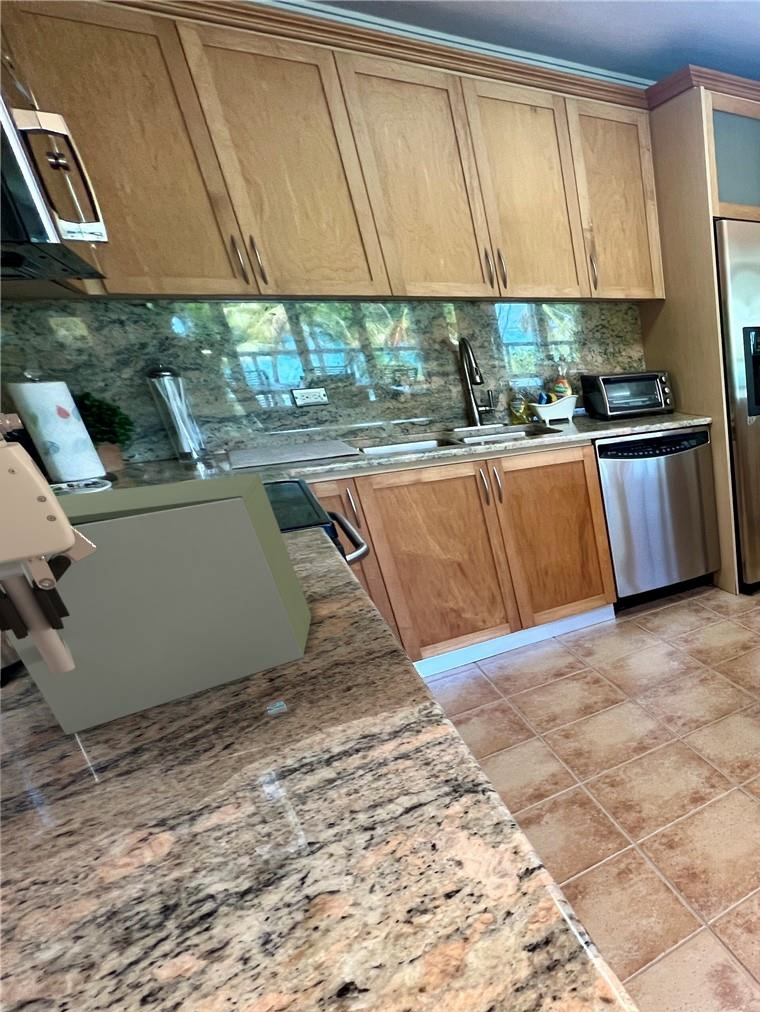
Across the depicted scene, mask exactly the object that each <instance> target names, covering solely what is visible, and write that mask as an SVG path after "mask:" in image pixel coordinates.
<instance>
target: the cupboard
mask: <svg viewBox="0 0 760 1012" xmlns="http://www.w3.org/2000/svg"><path fill="white" fill-rule="evenodd" d="M206 479H207V480H198V481H189V482H182V481H179V482H180V483H178V482H171V483H164V484H163V483H162V484H154V485H145V486H136V487H125V488H117V489H108V490H107V489H106V490H100V491H99V490H98V491H92V492H91V491H90V492H81V493H71V494H63V495H55V496H56V498H57V500H58V501H59V503H60V505H61V507H62V508H63V510H64V512H65V514H66V516H67V518H68V520H69V522H70V524H71V525H72V526H77V525H83V524H88V523H94V522H100V521H106V520H112V519H118V518H124V517H130V516H135V515H141V514H147V513H153V512H159V511H165V510H171V509H176V508H182V507H188V506H194V505H200V504H206V503H212V502H218V501H223V500H229V499H235V498H242V499H243V502H244V504H245V507H246V509H247V512H248V514H249V517H250V520H251V522H252V525H253V527H254V530H255V533H256V535H257V538H258V540H259V543H260V546H261V548H262V551H263V553H264V556H265V558H266V561H267V564H268V566H269V569H270V571H271V574H272V577H273V579H274V582H275V584H276V587H277V590H278V592H279V595H280V597H281V600H282V602H283V605H284V608H285V610H286V613H287V615H288V618H289V621H290V623H291V626H292V628H293V631H294V634H295V636H296V639H297V641H298V644H299V646H300V649H301V652H302V654H303V656H304V654H305V650H306V646H307V645H306V644H307V640H308V636H309V631H310V625H311V621H312V613H311V610H310V608H309V605H308V603H307V599H306V597H305V594H304V591H303V589H302V586H301V583H300V581H299V578H298V574H297V572H296V570H295V567H294V564H293V562H292V558H291V556H290V553H289V551H288V548H287V546H286V542H285V539H284V537H283V535H282V532H281V529H280V527H279V524H278V521H277V519H276V516H275V513H274V510H273V507H272V505H271V502H270V500H269V497H268V494H267V491H266V489H265V486H264V483H263V481H262V477H261V475H260V473H251V474H243V475H235V476H234V475H233V476H226V477H225V476H224V477H218V478H206Z"/></svg>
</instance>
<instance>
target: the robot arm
mask: <svg viewBox="0 0 760 1012" xmlns="http://www.w3.org/2000/svg"><path fill="white" fill-rule="evenodd" d="M21 429H25V427H24V426H23V424H22V421H21V419H20V417H19V415H18V414H17V413H8V414H7V413H5V414H4V412H0V564H1V563H6V562H12V561H17V560H23V559H24V560H25V562H26V564H27V566H28V568H29V570H30V572H31V574H32V576H33V578H34V579H33V581H32V585H33V588H32V590H33V594H34V596H35V598H36V600H37V602H38V603H39V605H40V607H41V609H42V611H43V613H44V614H45V616H46V618H47V620H48V622H49V623H50V625H51V627H52V629H53V630H54V629H56V630H60V629H64V625H63V622H62V620H61V618H63V617H67V616H70V614H69V612H68V610H67V608H66V606H65V604H64V603H63V601H62V599H61V597H60V595H59V593H58V591H57V589H56V587H55V586H56V584H57V582H58V581H59V579H60V578H61V577H62V575H63V574H64V573H65V572H66V570H67V569H68V568H69V567H70V565H72V564H74V563H76V562H78V561H80V560H82V559H84V558H86V557H88V556H90V555H92V554H94V553H95V552H96V551H97V548H96V546H95V545H94V544H93V543H92V542H91V541H90V540H89V539H87V538H86V537H85V536H84V535H83V534H81V533H80V532H79V531H78V530H77V529H75V528H74V527H73V526H72V525H71V524H70V522H69V520H68V518H67V516H66V514H65V512H64V510H63V508H62V507H61V505H60V503H59V501H58V500H57V498H56V496H57V495H56V494H55V492H54V491H53V489H52V488H51V485H50V484H49V482H48V480H47V479H46V477H45V476H44V474H43V473H42V471H41V469H40V468H39V466H38V465H37V463H36V461H34V460H33V458H32V457H31V456H30V454H29V452H27V450H26V449H25V448H24V447H23V446H22V445H21V443H19V442H17V441H13V442H12V441H9V442H7V441H6V439H5V437H4V435H7V434H8V433H7V432H9V433H10V432H13V430H21ZM57 552H59V553H57ZM53 553H56V554H54V555H53V556H52V557H51V558H50V559H49V560H48V562H47V560H46V558H45V555H49V554H53ZM11 629H12V631H13V633H14V634H15V636H16V638H17V639H18V640H19V639H23V638H26V636H28V630H27V629H26V627H25V625H24V623H23V622H22V620H21V618H20V616H19V615H18V613H17V611H16V609H15V608H14V606H13V604H12V602H11V601H10V599H9V597H8V595H7V594H6V593H4V592H3V591H2V590H1V589H0V632H2V633H3V632H5V631H7V630H11Z"/></svg>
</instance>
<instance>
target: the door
mask: <svg viewBox="0 0 760 1012" xmlns="http://www.w3.org/2000/svg"><path fill="white" fill-rule="evenodd" d="M73 527H74V528H75V529H77V530H78V531H79V532H80V533H81V534H83V535H84V536H85V537H86V538H87V539H89V540H90V541H91V542H92V543H93V544H94V545H95V546H96V548H97V551H96V552H95V553H94V554H92V555H90V556H88V557H86V558H84V559H82V560H80V561H78V562H76V563H74V564H72V565H70V567H69V568H68V569H67V570H66V572H65V573H64V574H63V575H62V577H61V578H60V579H59V581H58V582H57V584H56V586H55V587H56V589H57V591H58V593H59V595H60V597H61V599H62V601H63V603H64V604H65V606H66V608H67V610H68V612H69V614H70V616H67V617H63V618H61V620H62V622H63V625H64V629H60V630H56V629H54V630H53V629H52V627H51V625H50V623H49V622H48V620H47V618H46V616H45V614H44V613H43V611H42V609H41V607H40V605H39V603H38V602H37V600H36V598H35V596H34V594H33V590H32V588H33V585H32V581H33V579H34V578H33V576H32V574H31V572H30V570H29V568H28V566H27V564H26V562H25V560H24V559H23V560H17V561H12V562H6V563H1V564H0V589H1V590H2V591H3V592H4V593H6V594H7V595H8V597H9V599H10V601H11V602H12V604H13V606H14V608H15V609H16V611H17V613H18V615H19V616H20V618H21V620H22V622H23V623H24V625H25V627H26V629H27V630H28V636H26V638H23V639H19V640H18V639H17V638H16V636H15V634H14V633H13V631H12V629H11V630H7V631H4V632H5V634H6V636H7V638H8V640H9V641H10V643H11V644H12V646H13V648H14V650H15V651H16V653H17V655H18V656H19V659H20V660H21V661H22V664H23V665H24V666H25V668H26V671H27V672H28V673H29V676H30V677H31V678H32V680H33V682H34V684H35V685H36V687H37V688H38V691H39V692H40V694H41V695H42V697H43V699H44V701H45V702H46V705H48V707H49V709H50V711H51V712H52V715H53V716H54V717H55V719H56V721H57V722H58V725H59V726H60V728H61V729H62V731H63V732H64V735H65V736H70V735H72V734H75V733H78V732H82V731H84V730H86V729H87V730H88V729H90V728H94V727H97V726H100V725H102V724H106V723H109V722H112V721H115V720H118V719H121V718H123V717H128V716H130V715H133V714H136V713H139V712H142V711H146V710H148V709H151V708H154V707H157V706H161V705H163V704H166V703H170V702H173V701H175V700H179V699H181V698H185V697H188V696H191V695H193V694H197V693H201V692H203V691H206V690H209V689H212V688H215V687H218V686H221V685H224V684H227V683H230V682H234V681H237V680H239V679H242V678H245V677H248V676H252V675H254V674H257V673H261V672H263V671H267V670H271V669H273V668H276V667H279V666H282V665H285V664H288V663H291V662H294V661H297V660H300V659H304V655H303V654H302V652H301V649H300V646H299V644H298V641H297V639H296V636H295V634H294V631H293V628H292V626H291V623H290V621H289V618H288V615H287V613H286V610H285V608H284V605H283V602H282V600H281V597H280V595H279V592H278V590H277V587H276V584H275V582H274V579H273V577H272V574H271V571H270V569H269V566H268V564H267V561H266V558H265V556H264V553H263V551H262V548H261V546H260V543H259V540H258V538H257V535H256V533H255V530H254V527H253V525H252V522H251V520H250V517H249V514H248V512H247V509H246V507H245V504H244V502H243V499H242V498H235V499H229V500H223V501H218V502H212V503H206V504H200V505H194V506H188V507H182V508H176V509H171V510H165V511H159V512H153V513H147V514H141V515H135V516H130V517H124V518H118V519H112V520H106V521H100V522H94V523H88V524H83V525H77V526H73ZM57 553H59V552H57ZM54 554H56V553H53V554H49V555H45V558H46V560H47V562H48V560H49V559H50V558H51V557H52V556H53V555H54Z"/></svg>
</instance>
